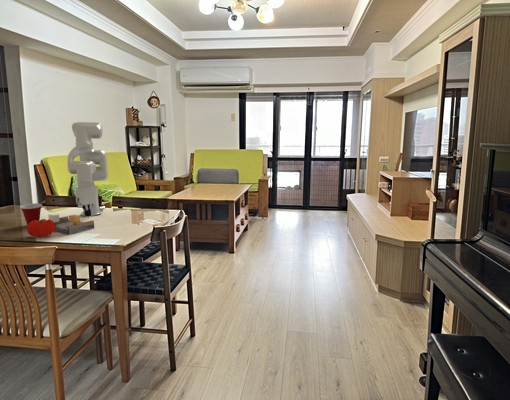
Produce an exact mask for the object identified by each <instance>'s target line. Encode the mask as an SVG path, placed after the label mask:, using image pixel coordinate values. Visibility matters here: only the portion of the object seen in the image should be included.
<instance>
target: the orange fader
mask: <svg viewBox="0 0 510 400" xmlns="http://www.w3.org/2000/svg"><path fill="white" fill-rule="evenodd" d="M80 216H81V215H78V214H71V215H68V218H69V223H73V224H74V225H75V224H76V223H80V222H81V217H80Z"/></svg>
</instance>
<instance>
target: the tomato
mask: <svg viewBox="0 0 510 400" xmlns="http://www.w3.org/2000/svg"><path fill="white" fill-rule="evenodd" d="M55 230H56V225H55V223H54V222H53V221H52V220H50V219H49V218H48V219H46V218H40V220H39V221H37V220H33V221H31V222H30V223H29V224H28V225H26V231H27V234H28V235H29V236H31V237H34V238H37V239H38V238H45V237H49V236H50V235H52V234H53V233H55Z"/></svg>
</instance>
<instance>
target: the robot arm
mask: <svg viewBox="0 0 510 400" xmlns="http://www.w3.org/2000/svg"><path fill="white" fill-rule="evenodd" d="M71 129H72V133H73V135H74V137H75V146H74V147H73V148H72V149H71V150H70V151H69V152H68V156H67V170H68V172H69V174H71V175H76V178H77V179H76V180H77V187H76V190H75V204H76V205H77V208H79V209H82V210H83V211H82V212H81V213H80V216H83V217H88V218H89V217H93V216H99V215H102V213H103V212H102V210H103V211H104V210H105V209H106V207H105V206H99V194H98V187H97V185H96V184H95V182H100V181H101V182H103V181H107V180H108V179H109V171H108V160H107V158H108V157H107V154H106V152H105V150H103V149H94V142H93V140H92V139H94V140H95V139H98V140H99V139H102V137H103V125H102V123H100V122H97V121H96V122H89V121H85V122H84V121H80V122H79V121H78V122H74V123H72V124H71ZM77 157H79V160H75V159H76V158H77ZM96 165H98V166H96Z"/></svg>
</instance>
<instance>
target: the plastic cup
mask: <svg viewBox="0 0 510 400" xmlns="http://www.w3.org/2000/svg"><path fill="white" fill-rule="evenodd" d="M42 207H43V204H42V203H26V204H23V205H20V206H19V208H20V209H21V211H22V214H23V217H24V220H25V223H26V226H28V224H29V223H30V222H31V221H33V220H37V221H39V220H41V210H42Z"/></svg>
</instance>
